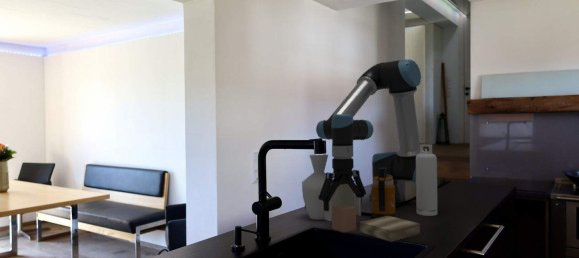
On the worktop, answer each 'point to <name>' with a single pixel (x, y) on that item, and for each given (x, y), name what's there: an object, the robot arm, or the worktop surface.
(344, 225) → the tower block
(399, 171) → the robot arm
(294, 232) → the worktop surface
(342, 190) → the can
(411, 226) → the plinth block
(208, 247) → the worktop surface
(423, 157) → the bottle
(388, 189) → the canister
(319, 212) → the vase
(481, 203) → the worktop surface
